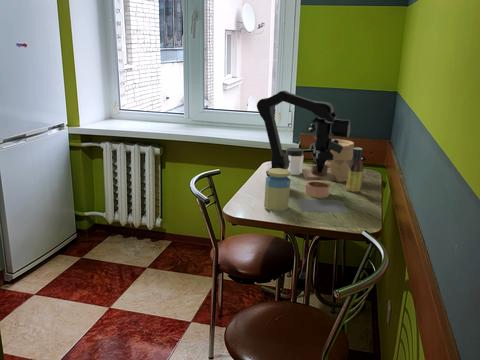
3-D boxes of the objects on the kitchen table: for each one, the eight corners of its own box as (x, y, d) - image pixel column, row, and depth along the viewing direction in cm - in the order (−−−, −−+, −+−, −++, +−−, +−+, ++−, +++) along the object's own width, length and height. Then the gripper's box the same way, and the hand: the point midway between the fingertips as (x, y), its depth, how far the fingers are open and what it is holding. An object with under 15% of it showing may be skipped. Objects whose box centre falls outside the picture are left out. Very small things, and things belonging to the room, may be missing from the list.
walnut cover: (306, 179, 178) (307, 168, 176) (301, 171, 189) (302, 161, 188) (336, 180, 178) (337, 169, 177) (329, 172, 190) (330, 162, 188)
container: (350, 183, 207) (355, 145, 202) (323, 180, 209) (327, 143, 204) (348, 176, 219) (352, 140, 214) (322, 173, 221) (326, 138, 215)
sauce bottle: (349, 189, 197) (354, 145, 191) (362, 192, 193) (368, 148, 188) (342, 192, 192) (348, 147, 187) (356, 196, 188) (361, 150, 183)
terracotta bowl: (306, 199, 181) (308, 187, 180) (302, 191, 191) (303, 180, 189) (331, 200, 182) (332, 188, 180) (325, 192, 191) (327, 181, 190)
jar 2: (288, 169, 225) (290, 146, 222) (303, 172, 222) (305, 148, 218) (281, 173, 218) (283, 149, 214) (297, 176, 214) (299, 152, 211)
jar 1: (264, 204, 173) (267, 167, 169) (288, 206, 172) (291, 168, 168) (263, 212, 165) (265, 173, 160) (288, 214, 164) (291, 175, 159)
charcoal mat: (301, 213, 165) (301, 211, 165) (295, 201, 178) (296, 198, 178) (349, 215, 166) (349, 212, 165) (340, 202, 179) (340, 200, 179)
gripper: (348, 139, 170) (343, 178, 175) (337, 131, 188) (333, 166, 192) (319, 138, 170) (315, 177, 174) (311, 129, 188) (307, 165, 192)
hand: (318, 171), depth 183 cm, fingers closed on walnut cover, 3 cm apart
